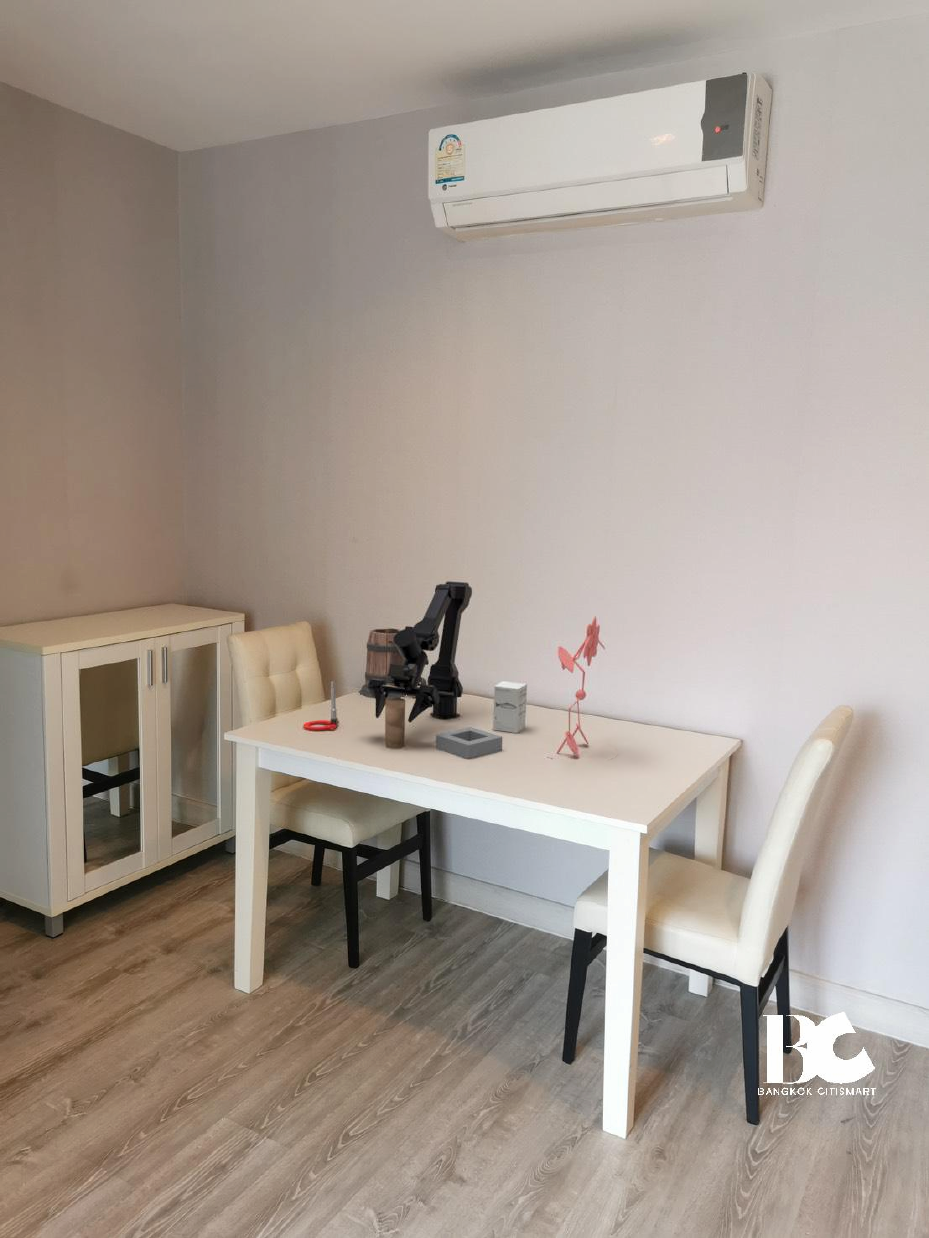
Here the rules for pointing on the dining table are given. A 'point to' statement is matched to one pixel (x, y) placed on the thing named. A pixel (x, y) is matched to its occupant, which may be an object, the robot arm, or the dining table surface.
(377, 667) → the tankard
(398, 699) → the walnut peg
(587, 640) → the figurine
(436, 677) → the robot arm
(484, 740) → the socket block
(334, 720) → the tow hook
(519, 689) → the supplement box
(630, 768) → the dining table surface
